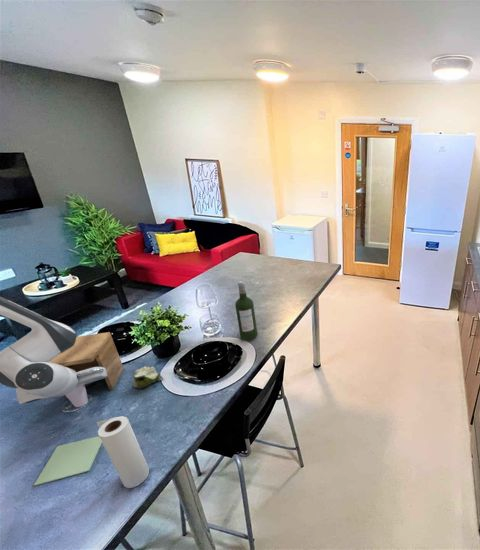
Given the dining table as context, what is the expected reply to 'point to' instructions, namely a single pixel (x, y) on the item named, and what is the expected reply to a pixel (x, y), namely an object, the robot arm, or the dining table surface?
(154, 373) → the mossy rock
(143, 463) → the paper towel roll
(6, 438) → the dining table surface
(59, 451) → the mat
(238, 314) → the wine bottle
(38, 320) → the robot arm
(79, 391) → the smoothie
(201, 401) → the dining table surface
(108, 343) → the desk
